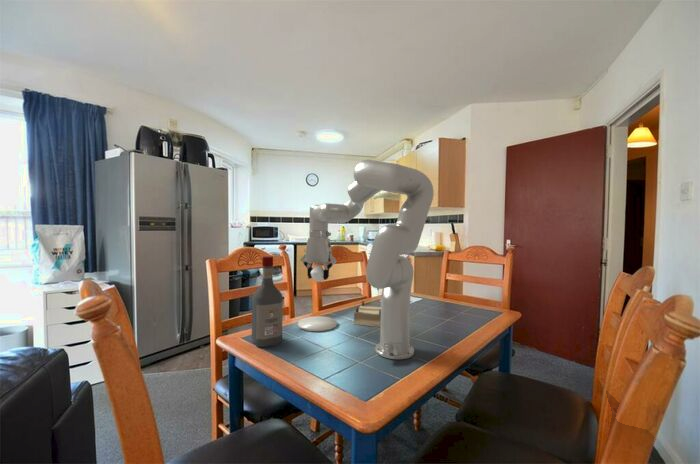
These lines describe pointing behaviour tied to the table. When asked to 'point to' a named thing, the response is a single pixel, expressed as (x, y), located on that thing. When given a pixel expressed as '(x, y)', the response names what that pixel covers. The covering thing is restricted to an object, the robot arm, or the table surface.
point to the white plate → (317, 323)
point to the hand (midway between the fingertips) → (318, 278)
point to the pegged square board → (367, 315)
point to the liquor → (267, 309)
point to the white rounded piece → (317, 273)
